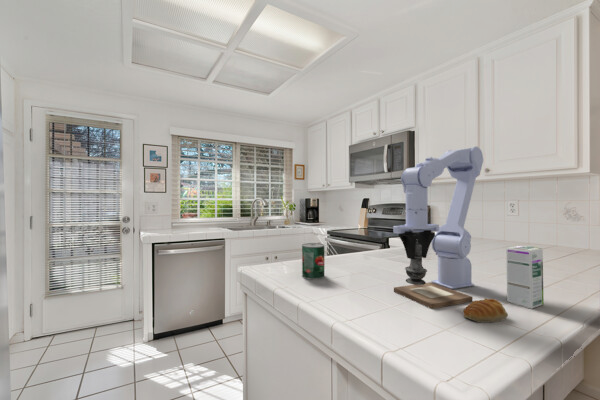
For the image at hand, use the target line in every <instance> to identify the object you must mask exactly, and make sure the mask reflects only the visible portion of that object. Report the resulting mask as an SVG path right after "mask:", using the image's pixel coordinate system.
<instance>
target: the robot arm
mask: <svg viewBox="0 0 600 400" xmlns="http://www.w3.org/2000/svg"><path fill="white" fill-rule="evenodd" d="M483 163H484V155H483V152H482V149H481V148H480V147H478V146H474V147H468V148H459V149H453V150H451V149H449V150H447V151H444V153H443V154H442V155H441V156H439V157H438V158H436V157H432V156H430V157H426V158H425V160H424V161H423V162H418V163H416V165H415V166H414V167H407V168H406V169H405V170H404V171H403V172H402V174H401V177H400V182H401V184H402V188H403V192H404V194H405V224H400V225H393V226H392V227H393V228H392V229H393V230H392V231H393V232H392V233H393V234H396V235H397V234H398V237H399V239H400V240H401V242H402V244H403V246H404V251H405V254H406V258H407V259H409V260H410V259H414V258H415V246H416V241H418V243H419V244H421V245H422V256H423V258H422V259H426V258H427V256H428V252H429V248H430V245H431V249H432V250H433V252H434V253H435V255H436V256H437V279H433V280H431V282H432V283H434V284H437V285H440V286H443V287H446V288H449V289H452V290H454V289H461V288H466V287H473V286H475V284H474V283H472V281H473V280H472V279H473V278H472V274H473V273H472V263H471V260H470V258H468V257H467V256H468V255H469V254H470V253H471V248H472V247H471V246H472V245H471V239H472V235H471V234H470V232H469V231H468V230H467V229H466V228H465V224H466V220H467V219H466V218H467V215H468V211H469V207H470V203H471V200H472V195H473V192H474V187H475V183H476V178H478V177H479V176H480V175H481V171H482V168H483ZM446 168H447V169H446ZM445 169H446V170H447V171H448V172H449V175H450V176H451V178H453V179H456V183H455V187H454V191H453V193H452V198H451V201H450V206H449V208H448V213H447V216H446V220H445V223H444V224H442V225H441V226H440V224H437V223H429V222H428V219H429V218H428V214H429V213H428V209H429V208H428V204H429V203H428V187H430V186H431V185H432V182H433V180H435V179H436V178H438V177H439V176H441V175H442V174H443V173H444V170H445Z"/></svg>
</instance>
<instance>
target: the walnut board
mask: <svg viewBox="0 0 600 400" xmlns="http://www.w3.org/2000/svg"><path fill="white" fill-rule="evenodd" d="M393 292H394V293H396V294H398V295H400V296H403V297H404V296H405V298H407V299H409V300H411V301H413V302H415V301H416V303H418V304H420V305H422V306H424V305H425V306H424V307H426V306H427V307H426V308H428V307H429V309H432V310H434V309H439V308H444V307H449V306H454V305H460V304H464V303H465V304H466V303H472V302H473V301H474V300H473V299H474V298H473V296H472V295H468V294H466V293H463V292H460V291H457V290H454V289H450V288H447V287H444V286H442V285H439V284H436V283H433V282H430V281H429V282H426V284H424V285H414V284H409V285H403V286H395V287H393Z"/></svg>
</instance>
